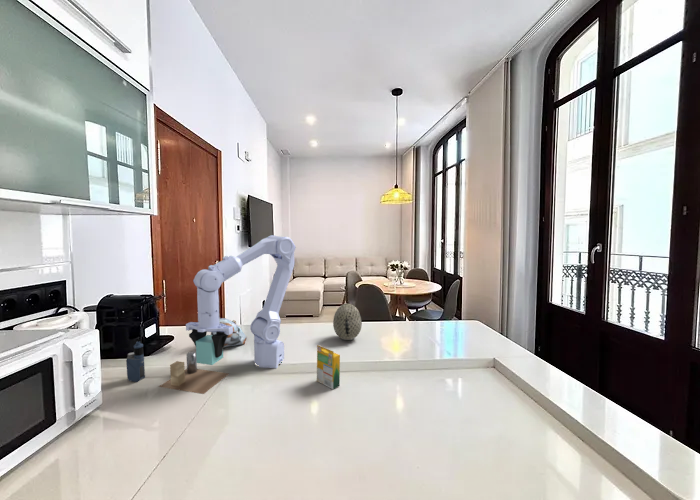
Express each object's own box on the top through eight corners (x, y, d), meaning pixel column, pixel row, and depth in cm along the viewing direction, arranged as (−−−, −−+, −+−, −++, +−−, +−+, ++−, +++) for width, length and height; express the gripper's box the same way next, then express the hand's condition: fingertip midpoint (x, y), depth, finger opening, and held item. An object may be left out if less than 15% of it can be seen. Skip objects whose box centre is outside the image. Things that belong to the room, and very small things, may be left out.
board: (229, 376, 101) (229, 373, 100) (203, 397, 89) (203, 393, 89) (188, 370, 104) (188, 367, 104) (158, 389, 92) (158, 386, 92)
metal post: (198, 370, 102) (198, 352, 102) (192, 374, 100) (192, 355, 99) (191, 369, 103) (190, 351, 102) (185, 373, 100) (184, 354, 100)
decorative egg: (361, 345, 127) (362, 308, 125) (332, 344, 127) (332, 307, 126) (361, 334, 139) (361, 300, 137) (333, 333, 139) (334, 299, 137)
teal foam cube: (223, 357, 98) (222, 336, 97) (212, 365, 93) (211, 343, 92) (208, 355, 99) (207, 334, 98) (196, 362, 94) (195, 341, 93)
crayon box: (340, 386, 96) (340, 348, 95) (332, 390, 94) (333, 351, 93) (323, 377, 101) (323, 341, 100) (316, 381, 99) (316, 344, 98)
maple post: (185, 381, 95) (184, 362, 95) (178, 386, 93) (177, 366, 92) (177, 380, 96) (176, 361, 95) (170, 384, 93) (170, 365, 93)
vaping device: (140, 382, 96) (138, 344, 95) (125, 380, 97) (123, 342, 96) (147, 378, 99) (145, 340, 97) (132, 376, 100) (130, 339, 98)
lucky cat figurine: (253, 340, 130) (251, 316, 122) (231, 362, 120) (227, 337, 113) (226, 325, 135) (221, 301, 127) (202, 345, 126) (196, 320, 118)
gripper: (177, 312, 92) (179, 358, 93) (221, 316, 89) (223, 363, 90) (194, 306, 99) (196, 348, 100) (236, 309, 95) (237, 353, 97)
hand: (210, 355), depth 96 cm, fingers closed on teal foam cube, 5 cm apart
